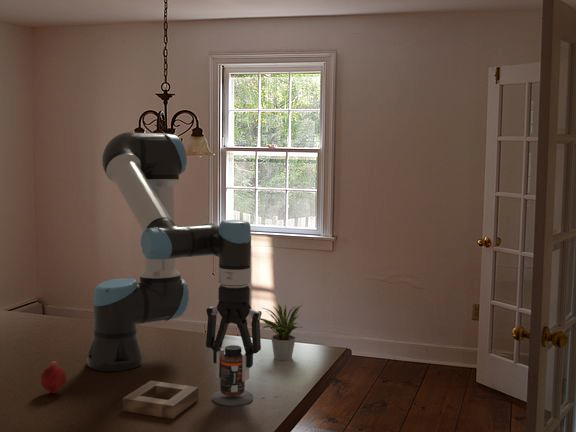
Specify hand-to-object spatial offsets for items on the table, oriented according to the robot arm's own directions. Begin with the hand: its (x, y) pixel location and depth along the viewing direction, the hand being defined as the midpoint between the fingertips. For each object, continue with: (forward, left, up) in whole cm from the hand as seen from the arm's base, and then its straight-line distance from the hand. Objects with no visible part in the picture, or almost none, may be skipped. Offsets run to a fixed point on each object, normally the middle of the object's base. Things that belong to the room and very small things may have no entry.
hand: (232, 378), depth 166 cm
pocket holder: (-14, -10, -5) cm, 18 cm away
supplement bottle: (0, 0, -4) cm, 4 cm away
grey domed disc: (0, 0, -5) cm, 5 cm away
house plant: (+1, +37, -5) cm, 37 cm away
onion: (-42, -13, -5) cm, 44 cm away
